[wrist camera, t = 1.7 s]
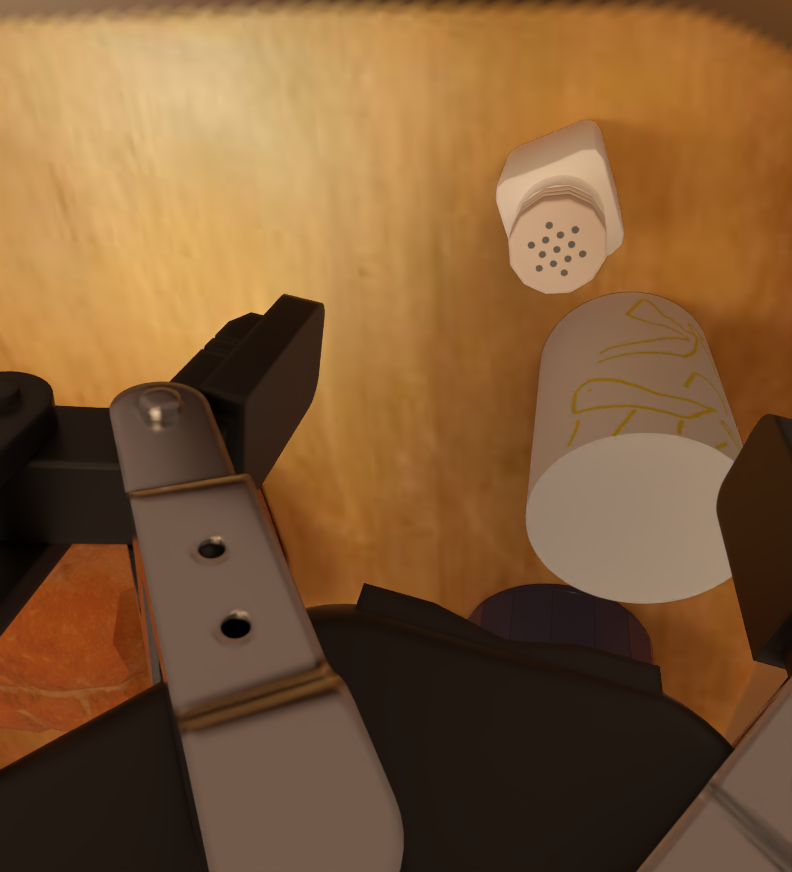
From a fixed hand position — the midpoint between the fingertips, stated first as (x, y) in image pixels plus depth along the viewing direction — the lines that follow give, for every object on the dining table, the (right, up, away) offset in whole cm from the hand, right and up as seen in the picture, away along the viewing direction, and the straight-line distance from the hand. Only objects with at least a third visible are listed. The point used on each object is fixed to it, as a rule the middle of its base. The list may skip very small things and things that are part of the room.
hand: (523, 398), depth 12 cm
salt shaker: (+5, +11, +17) cm, 21 cm away
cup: (+9, +3, +22) cm, 24 cm away
